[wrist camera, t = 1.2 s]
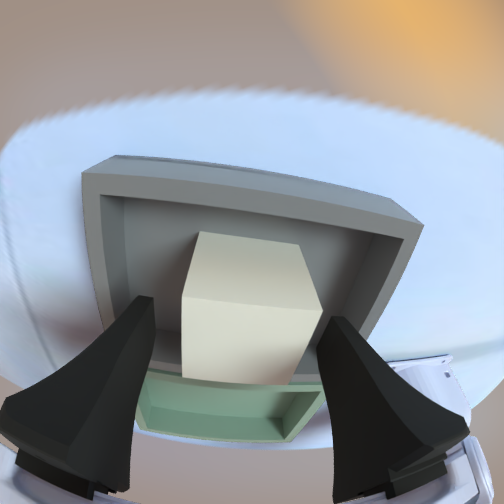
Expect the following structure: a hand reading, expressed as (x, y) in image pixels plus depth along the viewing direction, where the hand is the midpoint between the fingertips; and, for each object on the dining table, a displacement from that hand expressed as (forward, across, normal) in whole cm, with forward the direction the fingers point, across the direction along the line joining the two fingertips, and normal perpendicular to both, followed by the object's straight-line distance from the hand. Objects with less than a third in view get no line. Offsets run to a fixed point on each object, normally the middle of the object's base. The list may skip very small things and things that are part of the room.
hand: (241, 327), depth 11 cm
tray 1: (+4, 0, 0) cm, 4 cm away
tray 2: (+4, 0, +11) cm, 12 cm away
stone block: (+3, 0, 0) cm, 3 cm away
